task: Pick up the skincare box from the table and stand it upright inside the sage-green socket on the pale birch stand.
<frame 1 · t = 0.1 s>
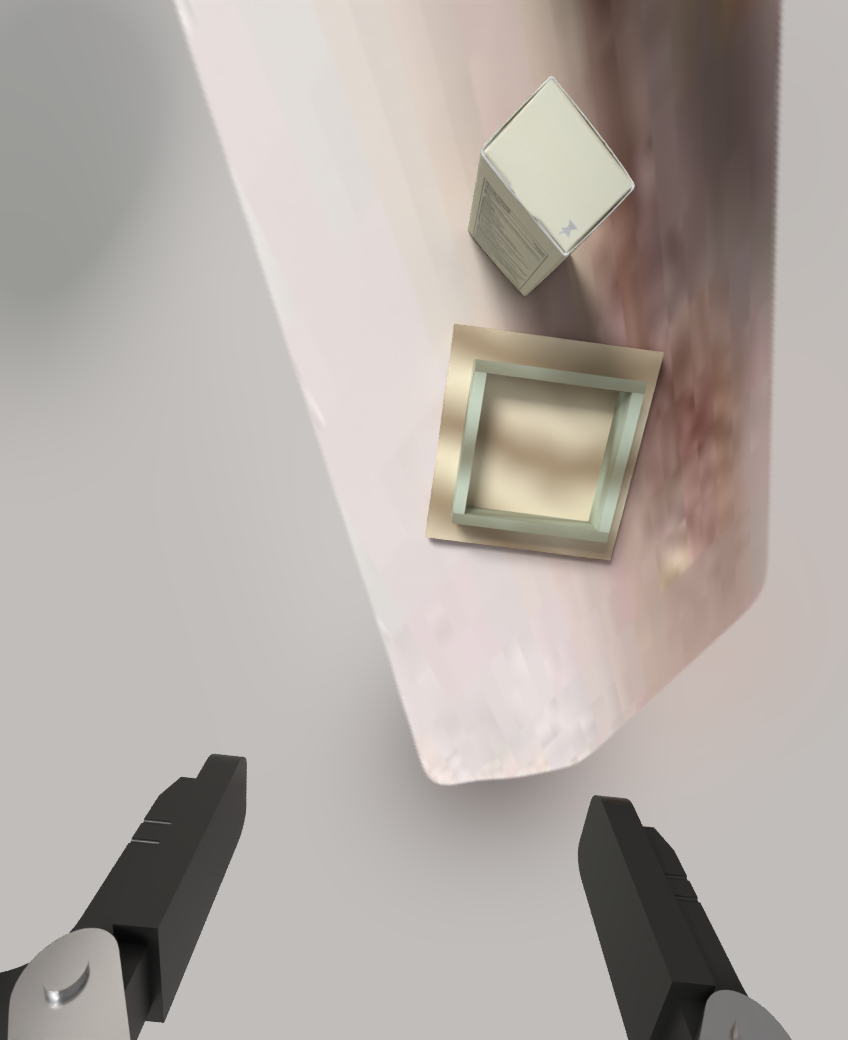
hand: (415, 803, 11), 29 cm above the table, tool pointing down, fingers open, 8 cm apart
socket stand: (535, 448, 38), on the table
skincare box: (516, 240, 34), on the table
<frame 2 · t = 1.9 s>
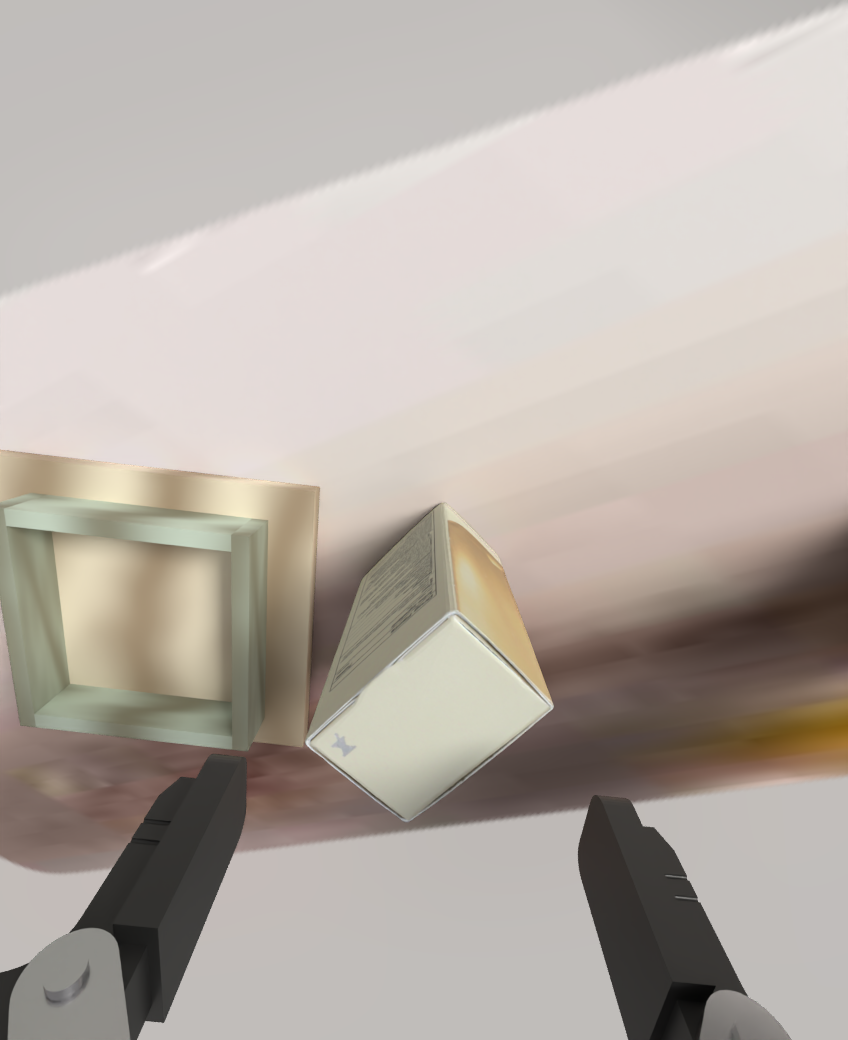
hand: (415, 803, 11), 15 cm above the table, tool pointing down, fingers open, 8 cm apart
socket stand: (166, 604, 26), on the table
skincare box: (431, 564, 26), on the table
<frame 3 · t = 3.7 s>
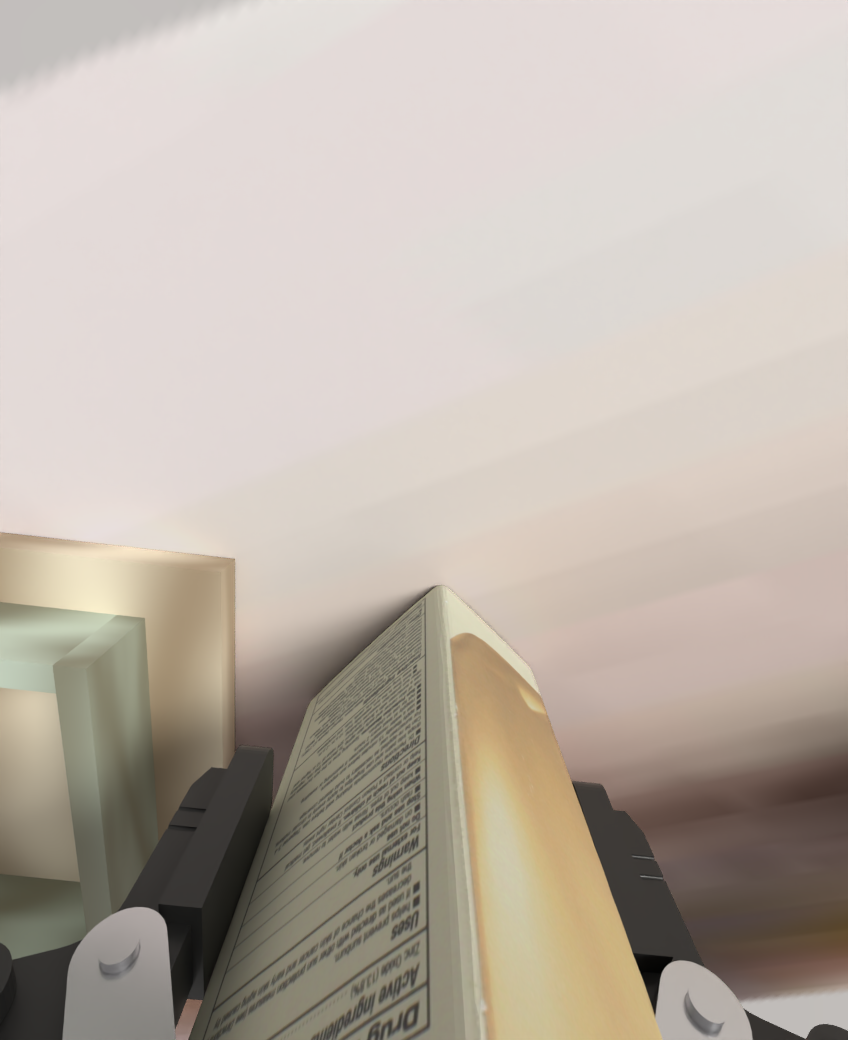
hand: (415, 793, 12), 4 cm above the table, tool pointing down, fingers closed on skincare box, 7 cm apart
skincare box: (422, 677, 16), on the table, touching gripper
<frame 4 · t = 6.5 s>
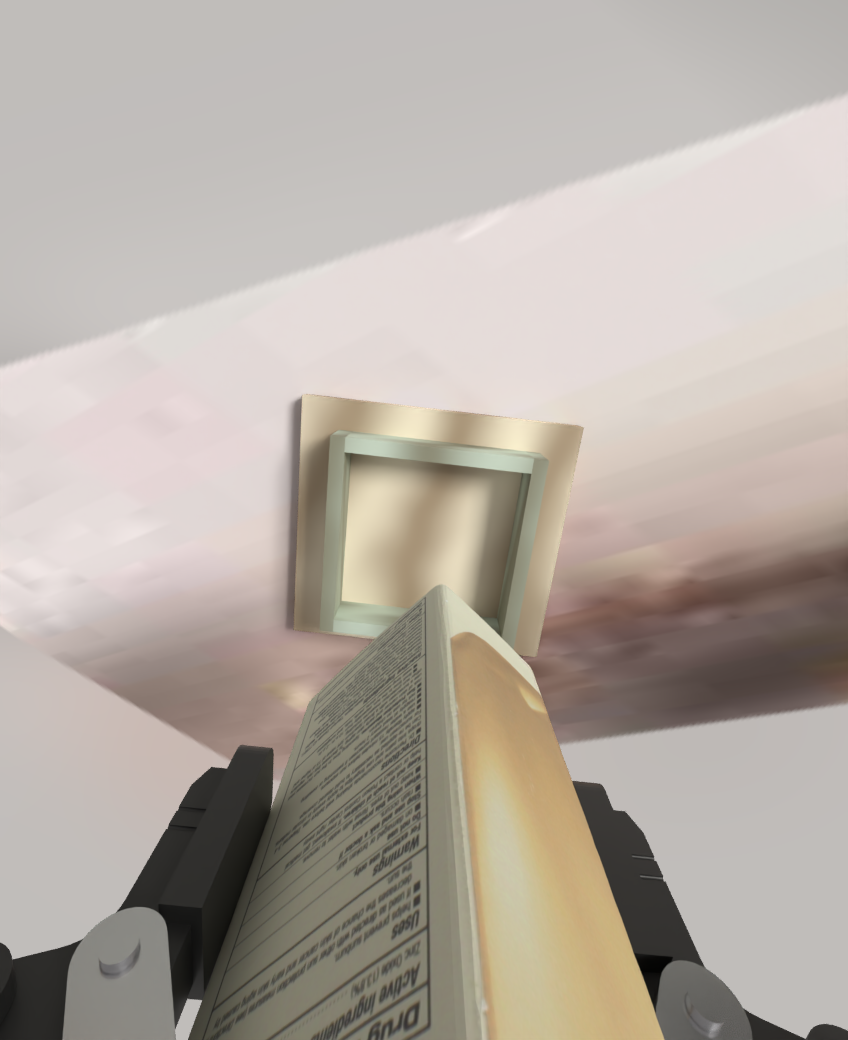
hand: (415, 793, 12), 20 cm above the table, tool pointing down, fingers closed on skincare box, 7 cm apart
socket stand: (428, 530, 31), on the table
skincare box: (422, 676, 16), point 16 cm above the table, touching gripper
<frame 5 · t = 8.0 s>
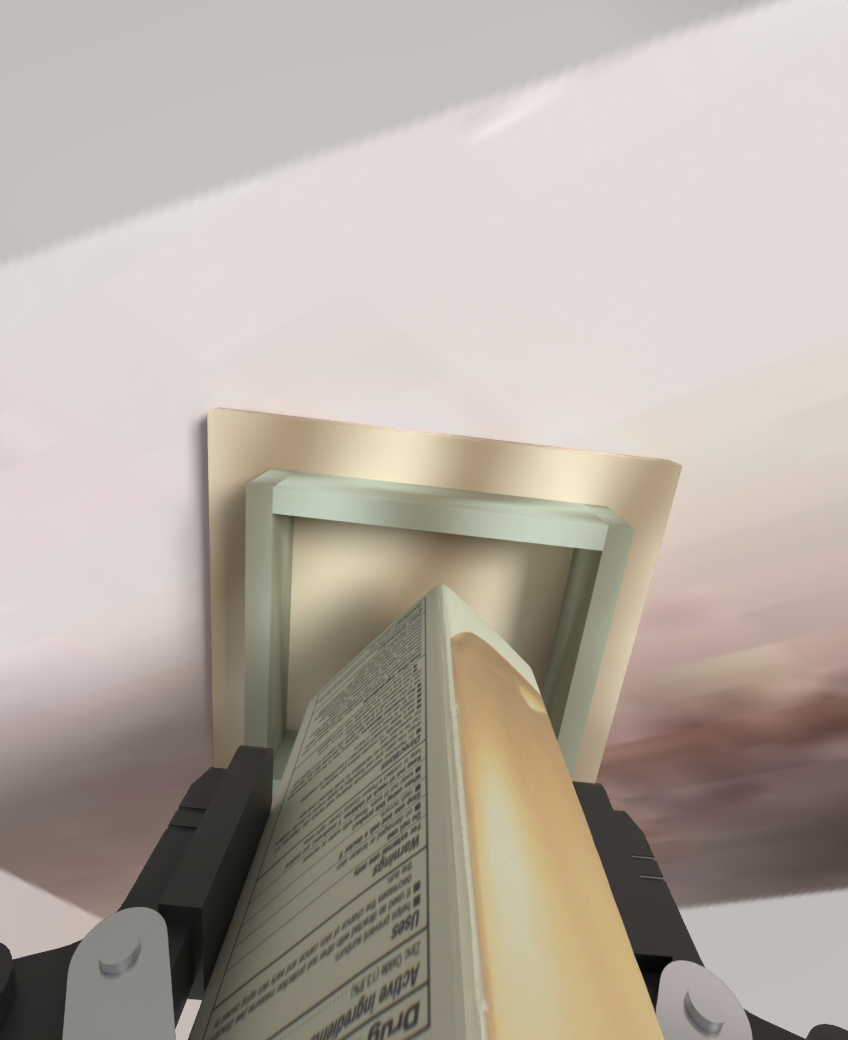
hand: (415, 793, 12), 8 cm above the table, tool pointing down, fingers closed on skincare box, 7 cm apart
socket stand: (422, 622, 20), on the table
skincare box: (422, 676, 16), point 4 cm above the table, touching gripper
when the fingers open (7 cm above the table, at t = 9.2 s): skincare box drops 2 cm, resting on socket stand.
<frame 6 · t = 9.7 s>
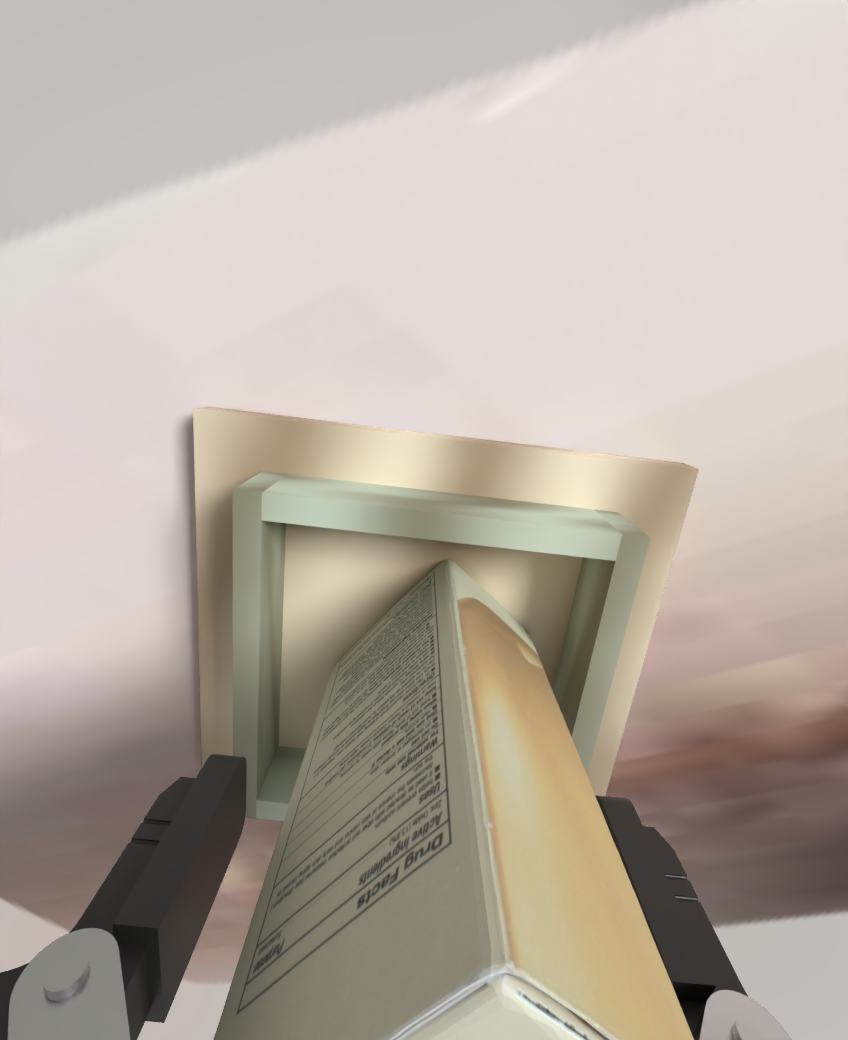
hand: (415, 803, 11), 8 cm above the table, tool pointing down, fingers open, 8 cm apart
socket stand: (421, 633, 19), on the table
skincare box: (432, 644, 18), point 1 cm above the table, touching socket stand
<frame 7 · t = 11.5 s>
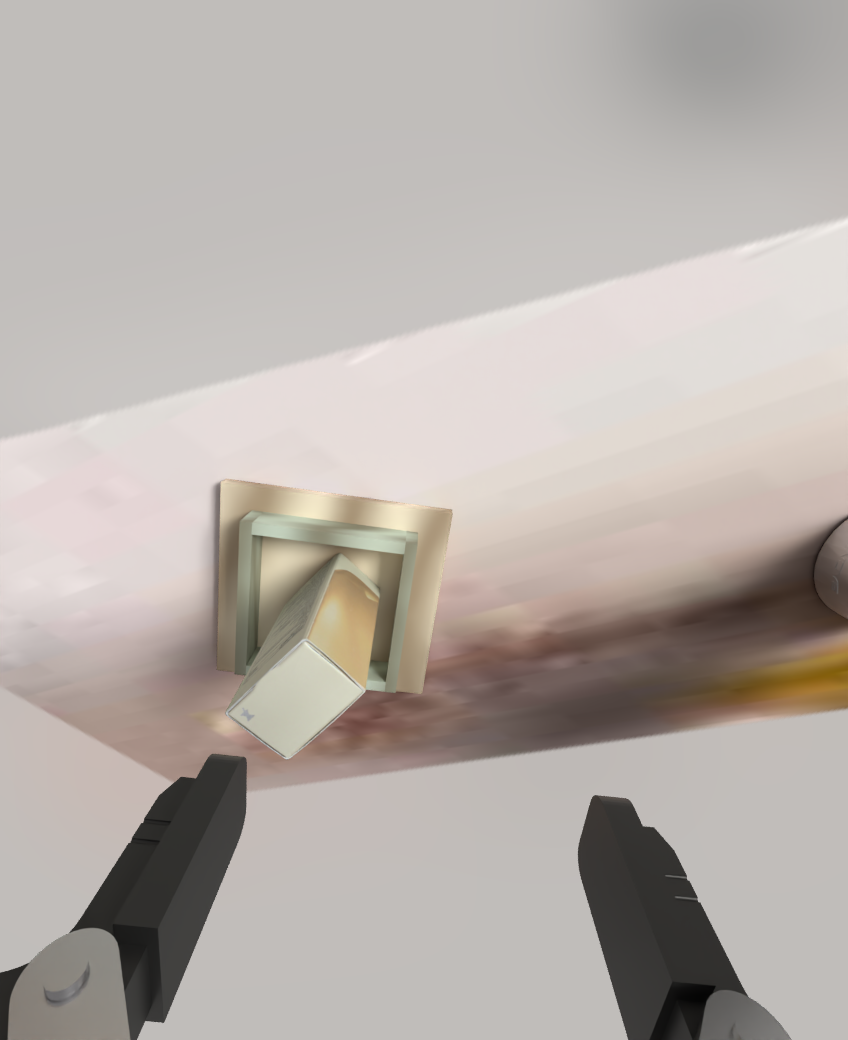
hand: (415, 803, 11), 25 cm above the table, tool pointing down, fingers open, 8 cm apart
socket stand: (331, 589, 37), on the table
skincare box: (334, 594, 36), point 1 cm above the table, touching socket stand
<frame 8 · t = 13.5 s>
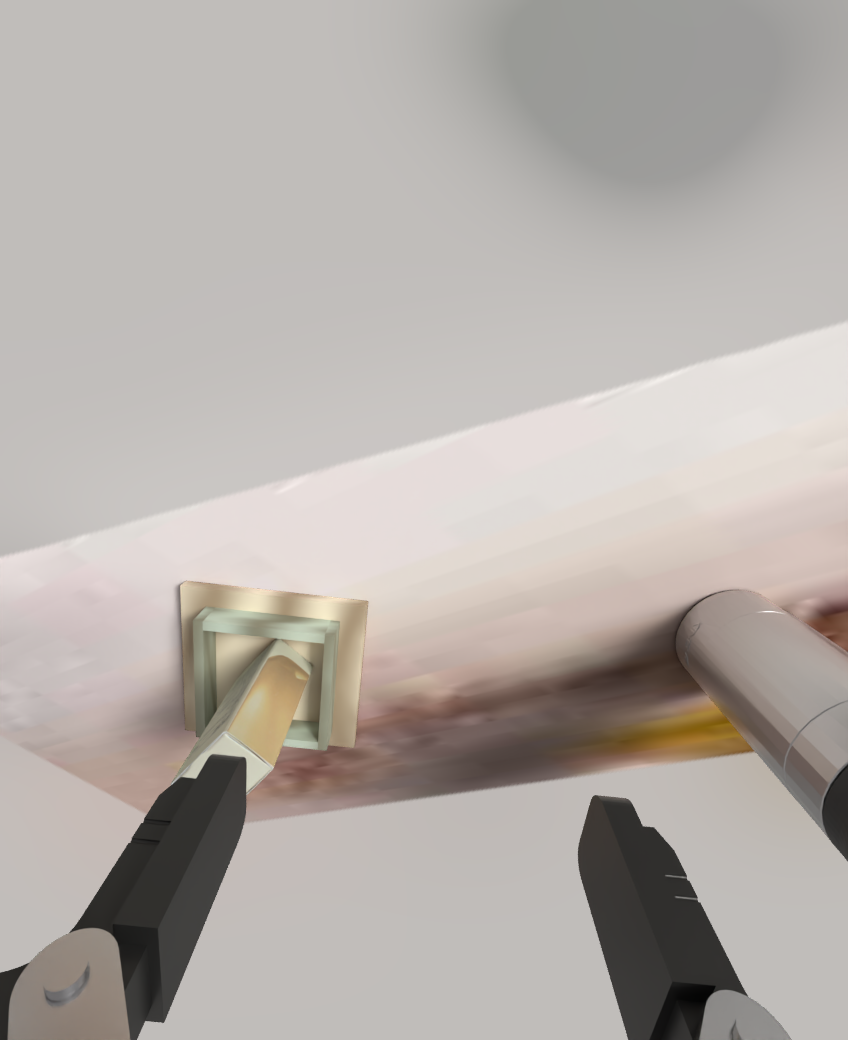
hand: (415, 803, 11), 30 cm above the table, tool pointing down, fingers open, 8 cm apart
socket stand: (275, 664, 45), on the table
skincare box: (276, 669, 44), point 1 cm above the table, touching socket stand
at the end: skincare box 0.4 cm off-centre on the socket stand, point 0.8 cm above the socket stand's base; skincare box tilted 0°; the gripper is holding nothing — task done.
